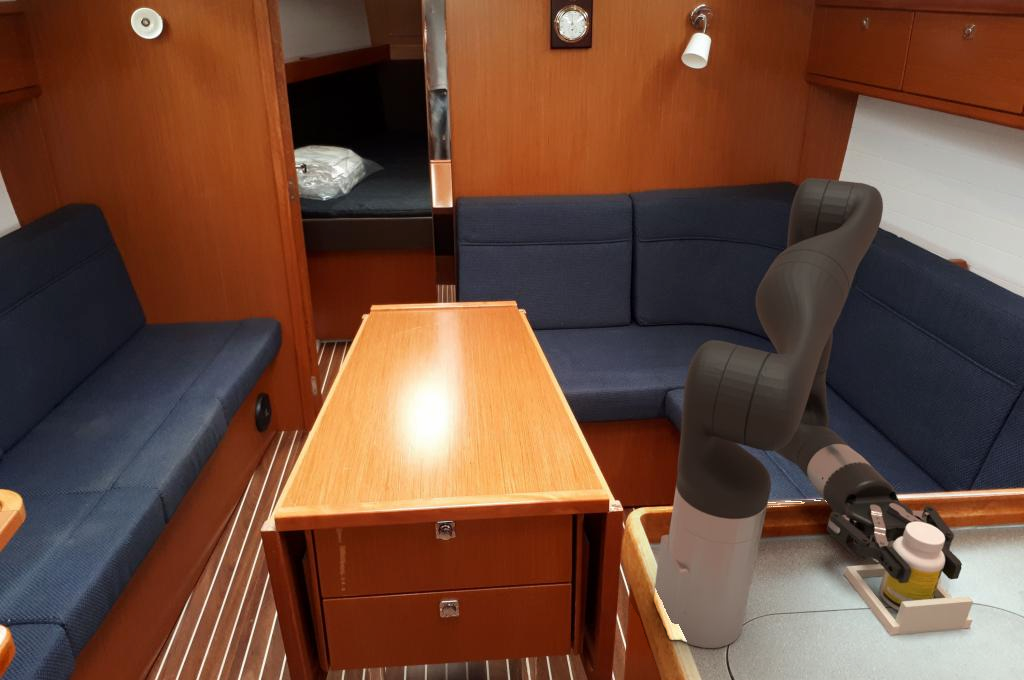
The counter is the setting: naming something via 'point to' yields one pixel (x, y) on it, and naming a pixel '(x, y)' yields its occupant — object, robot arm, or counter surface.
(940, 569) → the supplement bottle
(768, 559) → the counter surface
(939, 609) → the beige open frame
